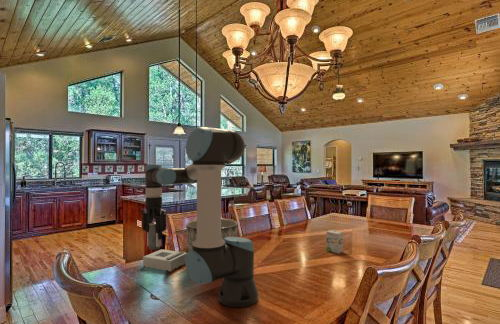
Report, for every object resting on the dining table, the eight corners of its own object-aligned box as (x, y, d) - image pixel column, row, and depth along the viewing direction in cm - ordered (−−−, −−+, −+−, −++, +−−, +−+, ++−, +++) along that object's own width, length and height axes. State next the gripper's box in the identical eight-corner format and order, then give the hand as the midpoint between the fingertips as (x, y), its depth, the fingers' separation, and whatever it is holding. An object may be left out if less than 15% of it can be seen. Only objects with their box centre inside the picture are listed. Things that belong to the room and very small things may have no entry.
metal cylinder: (154, 250, 132) (154, 224, 133) (146, 249, 134) (146, 223, 134) (161, 247, 137) (161, 222, 137) (153, 246, 138) (153, 221, 139)
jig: (170, 271, 138) (170, 259, 138) (143, 266, 144) (143, 255, 144) (187, 262, 151) (187, 251, 151) (161, 258, 157) (161, 248, 157)
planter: (187, 278, 129) (187, 230, 130) (184, 260, 154) (185, 219, 155) (243, 273, 136) (243, 226, 136) (232, 256, 161) (232, 217, 162)
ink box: (325, 250, 172) (325, 231, 172) (330, 249, 176) (330, 229, 176) (338, 253, 166) (338, 233, 166) (343, 252, 169) (343, 232, 170)
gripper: (174, 196, 136) (174, 245, 136) (145, 195, 143) (145, 242, 142) (163, 197, 129) (164, 249, 129) (133, 196, 136) (133, 246, 135)
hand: (154, 245), depth 135 cm, fingers closed on metal cylinder, 4 cm apart
